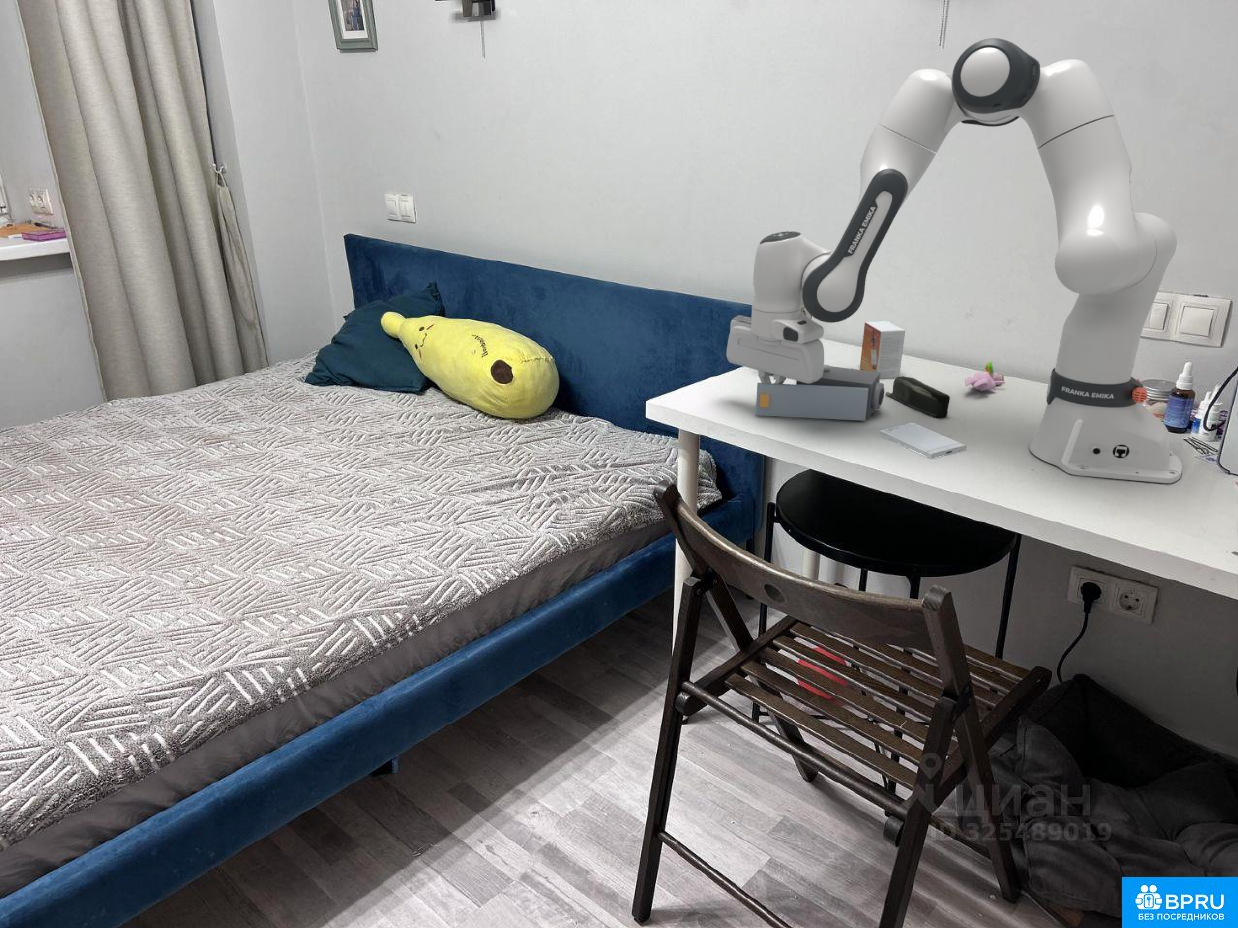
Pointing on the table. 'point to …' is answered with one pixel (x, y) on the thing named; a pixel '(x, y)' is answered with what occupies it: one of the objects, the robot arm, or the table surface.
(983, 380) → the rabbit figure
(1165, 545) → the table surface
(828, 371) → the box
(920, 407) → the dark green rounded block
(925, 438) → the hard drive
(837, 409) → the side door
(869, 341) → the small box
